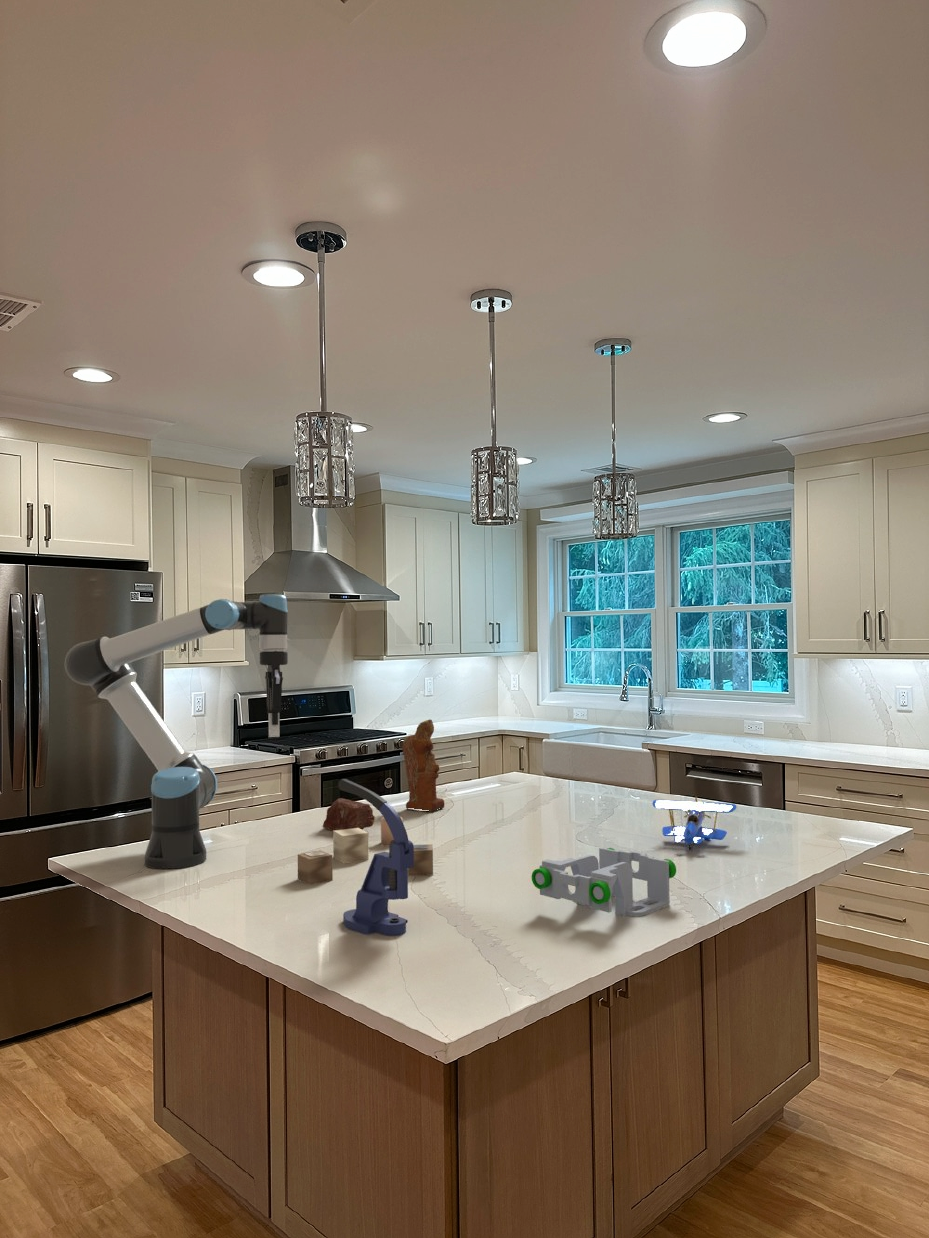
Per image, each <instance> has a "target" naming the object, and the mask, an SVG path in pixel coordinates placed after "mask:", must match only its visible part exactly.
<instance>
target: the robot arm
mask: <svg viewBox="0 0 929 1238" xmlns="http://www.w3.org/2000/svg"><path fill="white" fill-rule="evenodd" d="M287 599H288V598H287V596H286V595H283V594H273V593H271V594H270V593H269V594H261V595H260V596H259V600H258V601H254V602H249V601H248V602H247V601H246V602H245V601H243V602H242V601H241V602H240V601H233V600H230V599H226V598H225V599H224V598H220V599H216V600H213V601H211V602H210V603H209V604H206V605H204V606H202V607H198V608H195V609H191V610H189V611H185V612H183V613H180V614H178V615H175V616H171V617H169V618H166V619H163V620H161V621H157V622H154V623H152V624H148V625H145V626H143V627H140V628H137V629H134V630H131V631H129V632H125V633H123V634H120V635H117V636H113V637H111V638H109V637H108V636H103V637H99V638H95V639H91V640H87V641H82V642H79V643H78V644H75V645H74V646H72V647H71V648H70V649H69V650H68V652H67V653H66V656H65V658H64V669H65V672H66V674H67V676H68V677H69V678H70V679H71V680H72V681H73V682H75V683H77V684H79V685H82V686H90V687H91V689H92V691H93V692H94V693H95V694H96V696H97V697H98V698H99V699H103V700H107V701H108V703H110V704H111V706H112V708H113V709H114V711H115V712H116V713H117V715H118V716H119V717H120V719H121V721H122V722H123V723H124V724H125V726H126V728H127V729H128V730H129V732H130V733H131V735H132V736H133V737H134V738H135V740H136V741H137V742H138V743H137V744H139V746H140V747H141V748H142V750H143V752H144V753H145V754H146V756H147V757H148V759H150V761H151V762H152V764H153V765H154V767H155V768H156V770H157V772H156V773H154V774H153V776H152V777H151V778H152V779H151V785H150V790H151V791H150V792H151V835H150V838H149V841H148V844H147V847H146V849H145V850H146V851H145V853H144V866H145V867H147V868H150V869H151V868H152V869H158V868H159V869H161V868H165V869H164V870H166V869H167V870H169V869H170V868H171V869H181V868H187V867H192V866H197V865H199V864H201V863H204V862H206V861H207V848H206V846H205V842H204V840H203V836H202V834H201V831H200V810H201V809H203V808H204V807H205V806H207V805H208V804H209V803H210V802H211V801H212V800H213V799H214V797H215V796H216V793H217V790H218V779H217V776H216V774H215V772H214V771H213V770H212V769H211V768H210V767H209V766H207V765H205V764H202V762H201V761H200V759H198V757H197V756H196V754H195V753H194V752H188V751H186V750H185V749H184V747H183V745H181V743H180V742H179V740H178V739H177V738H176V735H174V733H173V732H172V730H171V728H169V726H168V725H167V723H166V722H165V721H164V720H163V718H162V717H161V715H160V713H159V712H158V711H157V709H156V708H155V706H154V705H153V704H152V702H151V701H150V700H149V698H148V697H147V696H146V695H147V694H146V693H144V691H143V690H142V689H141V686H139V684H138V682H137V680H136V679H137V676H138V673H137V671H136V670H135V669H134V667H133V666H132V662H136V661H138V660H142V659H144V658H147V657H150V656H153V655H155V654H158V653H161V652H163V651H167V650H169V649H173V648H176V647H178V646H181V645H184V644H188V643H190V642H193V641H195V640H199V639H202V638H204V637H207V636H210V635H213V634H216V633H219V632H222V631H231V630H233V631H234V630H259V636H258V637H259V639H258V641H259V650H261V651H260V652H259V665H260V666H267V670H266V671H265V675H264V678H265V686H266V687H265V688H266V692H265V693H266V710H267V711H266V712H267V714H268V738H279V737H280V723H281V722H280V713H281V711H282V693H283V680H284V677H283V672H282V671H281V666H286V665H288V663H289V662H288V661H289V660H288V658H289V657H288V651H286V650H287V649H288V643H289V642H290V638H288V614H289V611H288V602H287V601H288V600H287ZM196 864H197V865H196ZM168 868H169V869H168ZM159 869H158V870H159ZM171 869H170V870H171ZM161 870H162V869H161Z"/></svg>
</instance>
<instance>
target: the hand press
mask: <svg viewBox="0 0 929 1238" xmlns="http://www.w3.org/2000/svg"><path fill="white" fill-rule="evenodd" d="M338 788H339V790H340V791H343V792H346V793H349V794H353V795H355V796H358V797H360V798H361V799H363V800H365V801H367V802H368V804H369V803H370V805H372V806H373V807H374V808H375V809H376V810H377V811H379V812H380V814H381V815H382V817H384V819H385V820H386V822H387V824H388V826H389V828H390V831H391V833H392V836H393V838H394V840H391V841H390V843H389V846H388V848H389V849H388V851H389V852H388V851H382V852H377V853H374V854H373V857H372V859H371V862H370V865H369V867H368V870H367V872H366V875H365V877H364V879H363V883H362V885H361V888H360V889H359V890H358V891H357V893H356V895H355V896H356V898H355V899H356V900H355V901H356V903H355V904H356V905H355V906H356V907H355V908H353V909H350V910H346V911H344V912H343V913H342V915H343V917H342V919H343V925H344V927H345V928H346V929H348V930H350V931H353V932H357V933H360V934H362V935H367V936H368V935H371V934H375V933H376V934H379V935H383V936H386V937H398V936H403V935H404V934H406V933H407V924H408V922H409V921H408V919H407V918H405V917H401V916H399V914H397V913H393V912H390V911H389V910H388V909H389V901H390V900H393V901H394V900H395V901H396V900H406V899H409V881H408V880H409V879H408V878H409V876H408V868H412V867H414V846H413V845H414V843H413V841H411V840H409V838H408V833H407V829H406V827H405V825H404V822H402V820H401V818H400V817H401V816H400V815H399V813H398V812H397V811H396V810H395V808H394V807H393V806H392V805H390V804H389V802H388V801H387V800H386V799H384V798H383V797H382V796H380V795H379V794H378V793H376V792H374V791H372V790H371V789H368V788H366V787H365V786H363V785H360V784H357V783H356V782H354V781H352V780H349V779H348V778H341V779H339V780H338Z"/></svg>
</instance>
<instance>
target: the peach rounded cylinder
mask: <svg viewBox="0 0 929 1238" xmlns="http://www.w3.org/2000/svg"><path fill="white" fill-rule="evenodd" d="M400 818H401V820H402V822H403V816H400ZM403 823H404V822H403ZM391 840H394V838H393V836H392V833H391V831H390V828H389V826H388V824H387V822H386V820H385V819H384V817H383V816H382V817H380V844H381V845H382V844H383V846H386V845H389V843H390V841H391Z"/></svg>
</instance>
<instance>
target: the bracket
mask: <svg viewBox="0 0 929 1238" xmlns="http://www.w3.org/2000/svg"><path fill="white" fill-rule="evenodd" d="M598 859H599V860H598ZM632 861H633V862H638V870H637V871H635V870H634V868H633V865H632ZM568 867H570V869H571V872H572V874H569V872H568V871H565V870H566V869H567V868H568ZM676 873H677V866H676V864H675V863H674V862H673V860H672V859H669V858H664V859H659V858H655V857H654V856H650V855H647V853H643V852H639V851H632V850H630V851H625V850H619V849H617V850H616V849H614V848H613V847H607V848H605V847H600V848H599V847H598V858H597V856H596V855H592V854H588V855H584V856H581V857H578V858H573V857H569V858H566V859H562V860H554V859H553V860H552V859H549V858H547V859H545V860H542V861H541V865H539V868H535V869H534V870H533V871H532V873H531V882H532V884H533V886H534V887H535V888H536V889H538V890H539V895H540V896H544V897H547V898H552V899H556V900H561V899H564V900H568V901H571V902H576V904H578V905H582V906H588V908H590V909H594V910H598V911H601V912H606V913H611V912H612V897H613V896H614V905H615V906H614V907H615V909H614V913H615V914H616V915H620V916H623V917H624V916H628V917H642V916H646V915H648V914H650V913H653V912H656V911H658V910H660V909H662V908H666V907H668V906H670V879H672V878H674V877H675V876H676V875H677V874H676ZM633 879H636V880H641V881H645V882H646V883H647V885H646V887H647V888H646V889H647V890H646V891H647V893H646V894H647V897H645V898H642V899H640V900H637V901H635V902H634V900H633V899H634V893H633V891H634V889H633V885H634V884H633ZM569 886H571V887H574V888H575V889H574V892H571V890H570V888H569Z"/></svg>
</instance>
